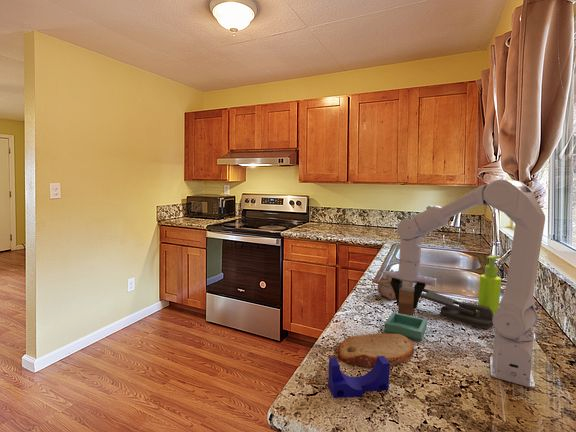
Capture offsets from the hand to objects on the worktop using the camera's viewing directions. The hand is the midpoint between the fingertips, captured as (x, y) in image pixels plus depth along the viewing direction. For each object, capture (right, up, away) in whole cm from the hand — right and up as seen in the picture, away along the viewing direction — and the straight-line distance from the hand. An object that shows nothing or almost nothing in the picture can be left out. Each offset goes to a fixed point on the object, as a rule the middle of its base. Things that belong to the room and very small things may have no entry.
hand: (407, 305), depth 94 cm
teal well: (0, -7, +1) cm, 7 cm away
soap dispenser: (+32, -7, +13) cm, 35 cm away
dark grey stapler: (+18, -7, +12) cm, 23 cm away
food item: (+7, -5, +30) cm, 32 cm away
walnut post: (0, -2, 0) cm, 2 cm away
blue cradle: (-20, -10, -28) cm, 36 cm away
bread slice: (-12, -9, -12) cm, 19 cm away
